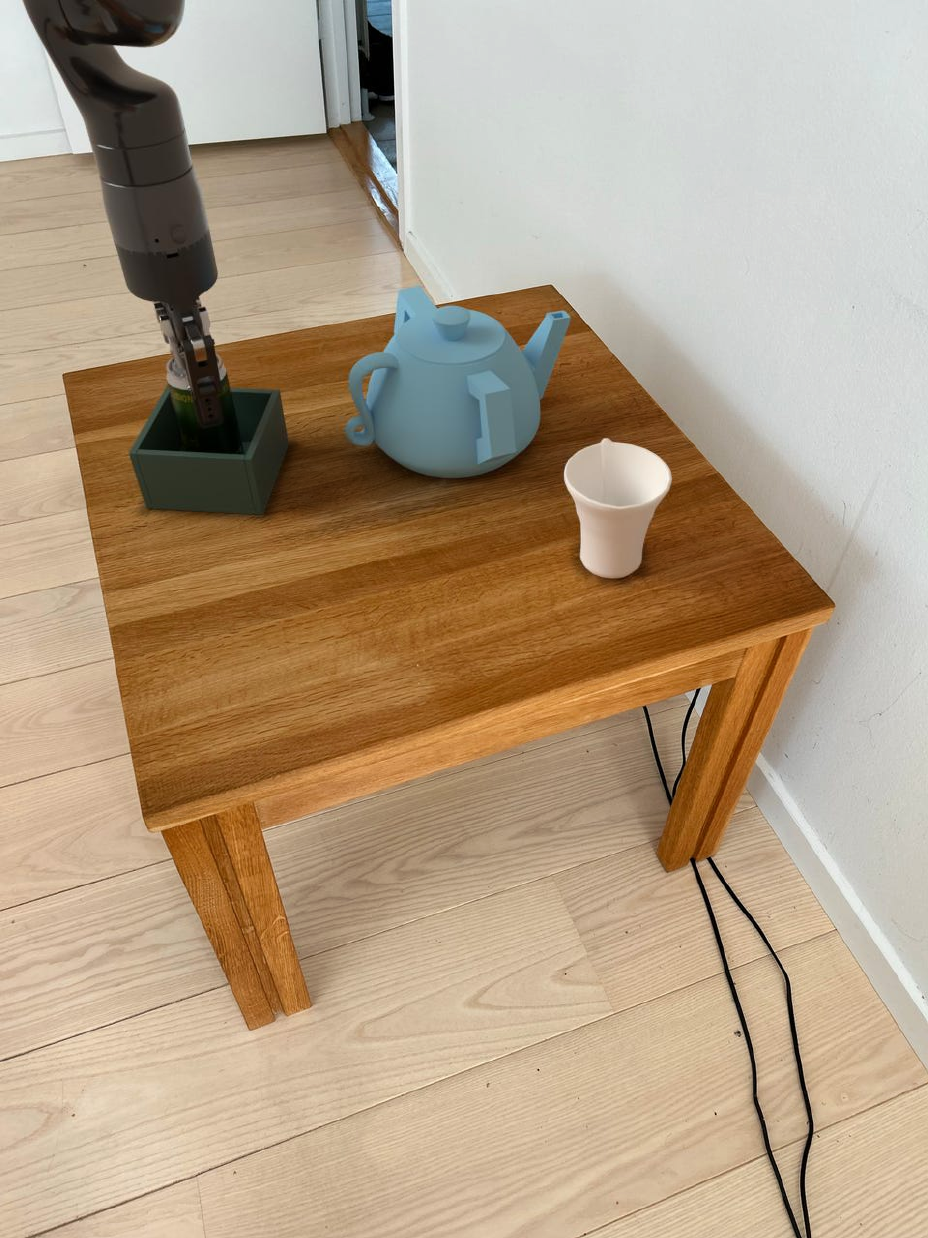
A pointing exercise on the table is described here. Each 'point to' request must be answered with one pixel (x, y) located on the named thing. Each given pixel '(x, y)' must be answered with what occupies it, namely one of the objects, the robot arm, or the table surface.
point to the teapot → (453, 388)
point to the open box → (212, 459)
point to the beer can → (193, 435)
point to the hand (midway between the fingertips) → (203, 407)
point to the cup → (615, 503)
